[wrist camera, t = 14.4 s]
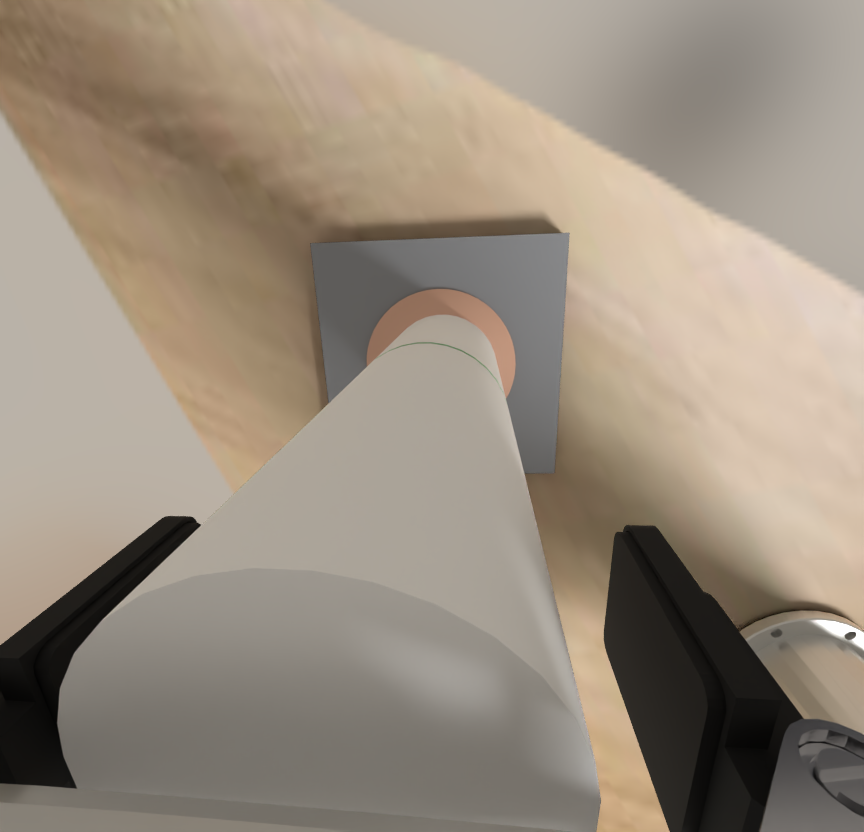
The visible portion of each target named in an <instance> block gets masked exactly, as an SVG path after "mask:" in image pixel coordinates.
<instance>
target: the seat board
mask: <svg viewBox="0 0 864 832" xmlns="http://www.w3.org/2000/svg"><path fill="white" fill-rule="evenodd" d="M310 245H311V253H312V262H313V271H314V280H315V288H316V297H317V306H318V315H319V324H320V332H321V341H322V350H323V359H324V368H325V376H326V385H327V394H328V403H330V402H331V401H332V400H333V399H334V398H335V397H336V396H337V395H338V394H339V393H340V392H341V391H342V390H343V389H344V388H345V387H346V386H347V385H349V384H350V383H351V382H352V381H353V380H354V379H355V378H356V377H357V376H358V375H359V374H360V373H361V372H362V371H363V370H364V369H365V368H366V367H367V366H368V365H369V364H370V363H371V362H372V361H373V360H374V359H375V358H377V357H378V356H379V355H380V354H381V353H382V352H383V351H384V350H385V349H386V348H387V347H388V346H389V345H390V344H391V343H392V342H393V341H394V340H395V339H396V338H397V337H398V336H399V335H400V334H401V333H402V332H403V331H404V330H406V329H407V328H408V327H409V326H411V325H412V324H413V323H415V322H416V321H418V320H420V319H423V318H425V317H428V316H433V315H452V316H458V317H460V318H463V319H465V320H468V321H469V322H471V323H472V324H474V325H476V326H477V327H478V328H479V329H480V330H481V331H482V332H483V333H484V334H485V335H486V337H487V338H488V340H489V342H490V343H491V345H492V348H493V350H494V353H495V357H496V361H497V365H498V369H499V373H500V377H501V381H502V385H503V389H504V393H505V397H506V401H507V405H508V409H509V414H510V418H511V422H512V426H513V430H514V434H515V438H516V442H517V446H518V450H519V454H520V458H521V462H522V466H523V470H524V473H555V457H556V441H557V425H558V409H559V393H560V377H561V360H562V344H563V328H564V312H565V296H566V280H567V264H568V248H569V233H552V234H527V235H503V236H478V237H454V238H429V239H404V240H380V241H355V242H331V243H310Z"/></svg>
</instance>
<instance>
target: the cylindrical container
mask: <svg viewBox="0 0 864 832" xmlns="http://www.w3.org/2000/svg"><path fill="white" fill-rule="evenodd" d="M57 725H58V731H59V736H60V741H61V746H62V751H63V757H64V759H65V761H66V764H67V766H68V768H69V771H70V773H71V775H72V777H73V780H74V782H75V784H76V787H77V789H88V790H101V791H113V792H126V793H139V794H152V795H165V796H178V797H190V798H202V799H214V800H226V801H238V802H250V803H262V804H274V805H285V806H297V807H309V808H320V809H332V810H344V811H355V812H367V813H378V814H389V815H400V816H411V817H422V818H433V819H444V820H455V821H466V822H477V823H488V824H499V825H510V826H521V827H532V828H543V829H552V830H561V831H570V832H596V830H597V823H598V817H599V810H600V804H601V798H600V791H599V784H598V777H597V770H596V763H595V759H594V755H593V750H592V746H591V742H590V738H589V734H588V730H587V726H586V722H585V718H584V714H583V710H582V706H581V702H580V698H579V694H578V690H577V686H576V681H575V677H574V673H573V669H572V665H571V661H570V657H569V653H568V649H567V645H566V641H565V637H564V633H563V629H562V625H561V621H560V617H559V612H558V608H557V604H556V600H555V596H554V592H553V588H552V584H551V580H550V576H549V572H548V568H547V564H546V560H545V556H544V552H543V547H542V543H541V539H540V535H539V531H538V527H537V523H536V519H535V515H534V511H533V507H532V503H531V499H530V495H529V491H528V487H527V483H526V478H525V474H524V470H523V466H522V462H521V458H520V454H519V450H518V446H517V442H516V438H515V434H514V430H513V426H512V422H511V418H510V414H509V409H508V405H507V401H506V397H505V393H504V389H503V385H502V381H501V377H500V373H499V369H498V365H497V361H496V357H495V353H494V350H493V348H492V345H491V343H490V342H489V340H488V338H487V337H486V335H485V334H484V333H483V332H482V331H481V330H480V329H479V328H478V327H477V326H476V325H474V324H472V323H471V322H469V321H468V320H465V319H463V318H460V317H458V316H452V315H433V316H428V317H425V318H423V319H420V320H418V321H416V322H415V323H413V324H412V325H411V326H409V327H408V328H407V329H406V330H404V331H403V332H402V333H401V334H400V335H399V336H398V337H397V338H396V339H395V340H394V341H393V342H392V343H391V344H390V345H389V346H388V347H387V348H386V349H385V350H384V351H383V352H382V353H381V354H380V355H379V356H378V357H377V358H375V359H374V360H373V361H372V362H371V363H370V364H369V365H368V366H367V367H366V368H365V369H364V370H363V371H362V372H361V373H360V374H359V375H358V376H357V377H356V378H355V379H354V380H353V381H352V382H351V383H350V384H349V385H347V386H346V387H345V388H344V389H343V390H342V391H341V392H340V393H339V394H338V395H337V396H336V397H335V398H334V399H333V400H332V401H331V402H330V403H329V404H328V405H327V406H325V407H324V408H323V409H322V410H321V411H320V412H319V413H318V414H317V415H316V416H315V417H314V418H313V419H312V420H311V421H310V422H309V423H308V424H307V425H306V426H305V427H304V428H302V429H301V430H300V431H299V432H298V433H297V434H296V435H295V436H294V437H293V438H292V439H291V440H290V441H289V442H288V443H287V444H286V445H285V446H284V447H283V448H282V449H280V450H279V451H278V452H277V453H276V454H275V455H274V456H273V457H272V458H271V459H270V460H269V461H268V462H267V463H266V464H265V465H264V466H263V467H262V468H261V469H260V470H259V471H257V472H256V473H255V474H254V475H253V476H252V477H251V478H250V479H249V480H248V481H247V482H246V483H245V484H244V485H243V486H242V487H241V488H240V489H239V490H238V491H237V492H236V493H234V494H233V495H232V496H231V497H230V498H229V499H228V500H227V501H226V502H225V503H224V504H223V505H222V506H221V507H220V508H219V509H218V510H217V511H216V512H215V513H214V514H213V515H211V516H210V517H209V518H208V519H207V520H206V521H205V522H204V523H203V524H202V525H201V526H200V527H199V528H198V529H197V530H196V531H195V532H194V533H193V534H192V535H191V536H189V537H188V538H187V539H186V540H185V541H184V542H183V543H182V544H181V545H180V546H179V547H178V548H177V549H176V550H175V551H174V552H173V553H172V554H171V555H170V556H169V557H168V558H166V559H165V560H164V561H163V562H162V563H161V564H160V565H159V566H158V567H157V568H156V569H155V570H154V571H153V572H152V573H151V574H150V575H149V576H148V577H147V578H146V579H144V580H143V581H142V582H141V583H140V584H139V585H138V586H137V587H136V588H135V589H134V590H133V591H132V592H131V593H130V594H129V595H128V596H127V597H126V598H125V599H124V600H123V601H121V602H120V603H119V604H118V605H117V606H116V607H115V608H114V609H113V610H112V611H111V612H110V613H109V614H108V615H107V616H106V617H105V618H104V619H103V620H102V621H101V622H100V623H99V624H98V625H97V627H96V628H95V629H94V630H93V631H92V632H91V634H90V635H89V636H88V637H87V638H86V640H85V641H84V642H83V643H82V644H81V645H80V647H79V648H78V649H77V650H76V651H75V653H74V655H73V657H72V660H71V662H70V664H69V667H68V669H67V672H66V674H65V677H64V679H63V682H62V684H61V687H60V693H59V706H58V719H57Z"/></svg>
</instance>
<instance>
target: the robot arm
mask: <svg viewBox="0 0 864 832" xmlns="http://www.w3.org/2000/svg"><path fill="white" fill-rule="evenodd" d="M200 526H201V524H199V523H197V522H196V520H195V519H194V518H193V517H186V516H167V517H164V518H162V519H161V520H159V521H158V522H157V523H156V524H154V525H153V526H152V527H150V528H149V529H148V530H147V531H145V532H144V533H143V534H142V535H140V536H139V537H138V538H136V539H135V540H134V541H133V542H131V543H130V544H129V545H127V546H126V547H125V548H124V549H122V550H121V551H120V552H119V553H117V554H116V555H115V556H113V557H112V558H111V559H110V560H108V561H107V562H106V563H105V564H103V565H102V566H101V567H99V568H98V569H97V570H96V571H94V572H93V573H92V574H91V575H89V576H88V577H87V578H86V579H84V580H83V581H82V582H80V583H79V584H78V585H77V586H76V587H74V588H73V589H72V590H70V591H69V592H68V593H66V594H65V595H64V596H63V597H62V598H60V599H59V600H58V601H56V602H55V603H54V604H52V605H51V606H50V607H49V608H47V609H46V610H45V611H43V612H42V613H41V614H40V615H39V616H37V617H36V618H35V619H33V620H32V621H31V622H29V623H28V624H27V625H26V626H24V627H23V628H22V629H21V630H19V631H18V632H17V633H15V634H14V635H13V636H12V637H10V638H9V639H8V640H7V641H5V642H4V643H3V644H1V645H0V832H570V831H561V830H552V829H543V828H532V827H521V826H510V825H499V824H488V823H477V822H466V821H455V820H444V819H433V818H422V817H411V816H400V815H389V814H378V813H367V812H355V811H344V810H332V809H320V808H309V807H297V806H285V805H274V804H262V803H250V802H238V801H226V800H214V799H202V798H190V797H178V796H165V795H152V794H139V793H126V792H113V791H101V790H88V789H77V787H76V784H75V782H74V780H73V777H72V775H71V773H70V771H69V768H68V766H67V764H66V761H65V759H64V757H63V751H62V746H61V741H60V736H59V731H58V725H57V719H58V706H59V693H60V687H61V684H62V682H63V679H64V677H65V674H66V672H67V669H68V667H69V664H70V662H71V660H72V657H73V655H74V653H75V651H76V650H77V649H78V648H79V647H80V645H81V644H82V643H83V642H84V641H85V640H86V638H87V637H88V636H89V635H90V634H91V632H92V631H93V630H94V629H95V628H96V627H97V625H98V624H99V623H100V622H101V621H102V620H103V619H104V618H105V617H106V616H107V615H108V614H109V613H110V612H111V611H112V610H113V609H114V608H115V607H116V606H117V605H118V604H119V603H120V602H121V601H123V600H124V599H125V598H126V597H127V596H128V595H129V594H130V593H131V592H132V591H133V590H134V589H135V588H136V587H137V586H138V585H139V584H140V583H141V582H142V581H143V580H144V579H146V578H147V577H148V576H149V575H150V574H151V573H152V572H153V571H154V570H155V569H156V568H157V567H158V566H159V565H160V564H161V563H162V562H163V561H164V560H165V559H166V558H168V557H169V556H170V555H171V554H172V553H173V552H174V551H175V550H176V549H177V548H178V547H179V546H180V545H181V544H182V543H183V542H184V541H185V540H186V539H187V538H188V537H189V536H191V535H192V534H193V533H194V532H195V531H196V530H197V529H198V528H199V527H200ZM604 643H605V649H606V652H607V655H608V658H609V661H610V663H611V666H612V669H613V672H614V675H615V678H616V680H617V683H618V686H619V689H620V692H621V695H622V698H623V700H624V703H625V706H626V709H627V712H628V715H629V717H630V720H631V723H632V726H633V729H634V732H635V734H636V737H637V740H638V743H639V746H640V749H641V751H642V754H643V757H644V760H645V763H646V766H647V768H648V771H649V774H650V777H651V780H652V783H653V785H654V788H655V791H656V794H657V797H658V800H659V803H660V805H661V808H662V811H663V814H664V817H665V820H666V822H667V825H668V828H669V830H670V832H864V631H863V630H862V629H861V628H860V627H859V626H857V625H856V624H854V623H853V622H851V621H849V620H848V619H846V618H843V617H840V616H838V615H835V614H832V613H826V612H821V611H793V612H784V613H780V614H776V615H772V616H769V617H766V618H764V619H761V620H759V621H756V622H754V623H752V624H751V625H749V626H747V627H746V628H744V629H742V630H741V631H740V632H739V631H738V629H737V628H736V627H735V625H734V624H733V623H732V621H731V620H730V619H729V617H728V616H727V614H726V613H725V612H724V610H723V609H722V608H721V606H720V605H719V604H718V602H717V601H716V600H715V599H714V598H713V597H712V596H711V595H710V594H708V593H706V592H703V591H702V589H701V588H700V587H699V585H698V584H697V582H696V581H695V580H694V578H693V577H692V575H691V574H690V573H689V571H688V570H687V569H686V567H685V566H684V564H683V563H682V562H681V560H680V559H679V557H678V556H677V555H676V553H675V552H674V551H673V549H672V548H671V546H670V545H669V544H668V542H667V541H666V540H665V538H664V537H663V535H662V534H661V533H660V531H659V530H658V529H657V528H656V527H655V526H637V525H626V526H625V527H624V530H623V532H617V533H616V534H615V537H614V545H613V554H612V563H611V572H610V581H609V590H608V599H607V608H606V617H605V626H604Z"/></svg>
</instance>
